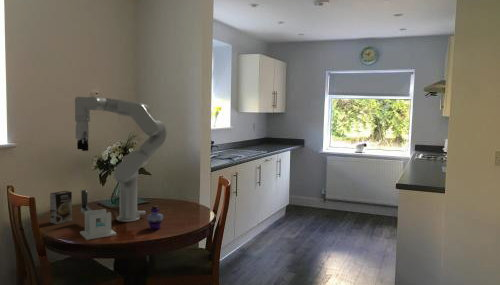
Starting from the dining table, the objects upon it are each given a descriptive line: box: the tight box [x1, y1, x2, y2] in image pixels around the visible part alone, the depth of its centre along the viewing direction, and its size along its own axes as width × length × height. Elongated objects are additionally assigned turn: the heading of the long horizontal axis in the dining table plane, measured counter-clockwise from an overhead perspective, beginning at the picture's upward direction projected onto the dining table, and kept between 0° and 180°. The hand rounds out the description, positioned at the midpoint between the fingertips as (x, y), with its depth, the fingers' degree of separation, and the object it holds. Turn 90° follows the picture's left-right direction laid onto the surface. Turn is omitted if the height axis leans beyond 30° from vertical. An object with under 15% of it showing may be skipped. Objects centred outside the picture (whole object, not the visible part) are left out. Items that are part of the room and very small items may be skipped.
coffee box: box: [49, 190, 73, 225], centre depth 219 cm, size 9×6×16 cm
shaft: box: [80, 189, 99, 222], centre depth 210 cm, size 3×22×12 cm, turn 36°
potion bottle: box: [146, 205, 164, 231], centre depth 209 cm, size 9×9×12 cm
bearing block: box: [79, 208, 117, 241], centre depth 198 cm, size 14×12×11 cm
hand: (82, 149), depth 225 cm, fingers open, 9 cm apart
